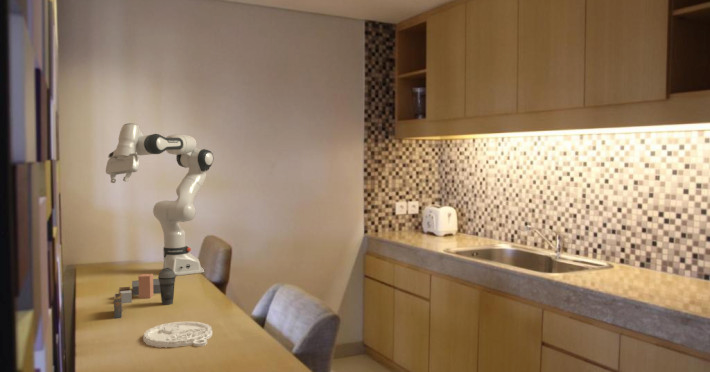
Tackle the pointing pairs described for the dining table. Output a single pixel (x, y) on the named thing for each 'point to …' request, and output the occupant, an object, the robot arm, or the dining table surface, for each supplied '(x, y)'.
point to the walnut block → (124, 289)
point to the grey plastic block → (126, 296)
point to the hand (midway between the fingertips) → (119, 181)
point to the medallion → (178, 334)
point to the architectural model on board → (118, 305)
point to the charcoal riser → (155, 287)
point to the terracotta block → (145, 285)
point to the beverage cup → (167, 285)
